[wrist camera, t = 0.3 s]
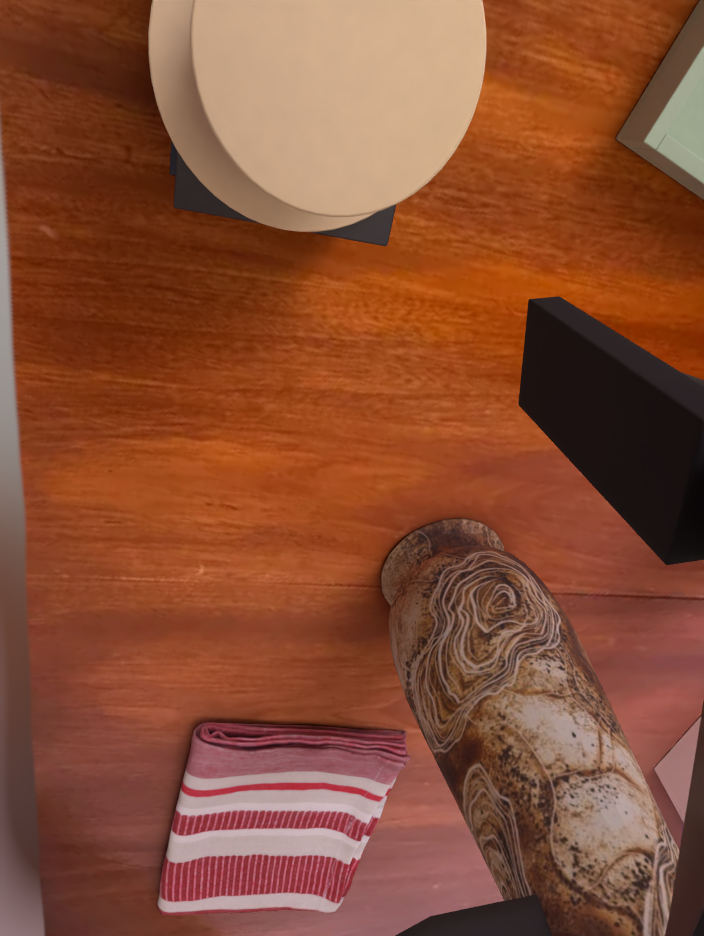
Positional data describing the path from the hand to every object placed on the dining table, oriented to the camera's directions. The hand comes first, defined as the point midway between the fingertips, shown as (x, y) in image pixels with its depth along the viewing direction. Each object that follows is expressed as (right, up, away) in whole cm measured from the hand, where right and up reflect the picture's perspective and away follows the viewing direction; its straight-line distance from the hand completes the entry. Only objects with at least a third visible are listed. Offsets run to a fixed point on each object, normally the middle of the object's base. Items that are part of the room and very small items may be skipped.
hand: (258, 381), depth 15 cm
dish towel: (-4, -31, +40) cm, 51 cm away
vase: (+9, -9, +29) cm, 32 cm away
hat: (+1, +11, +7) cm, 13 cm away
